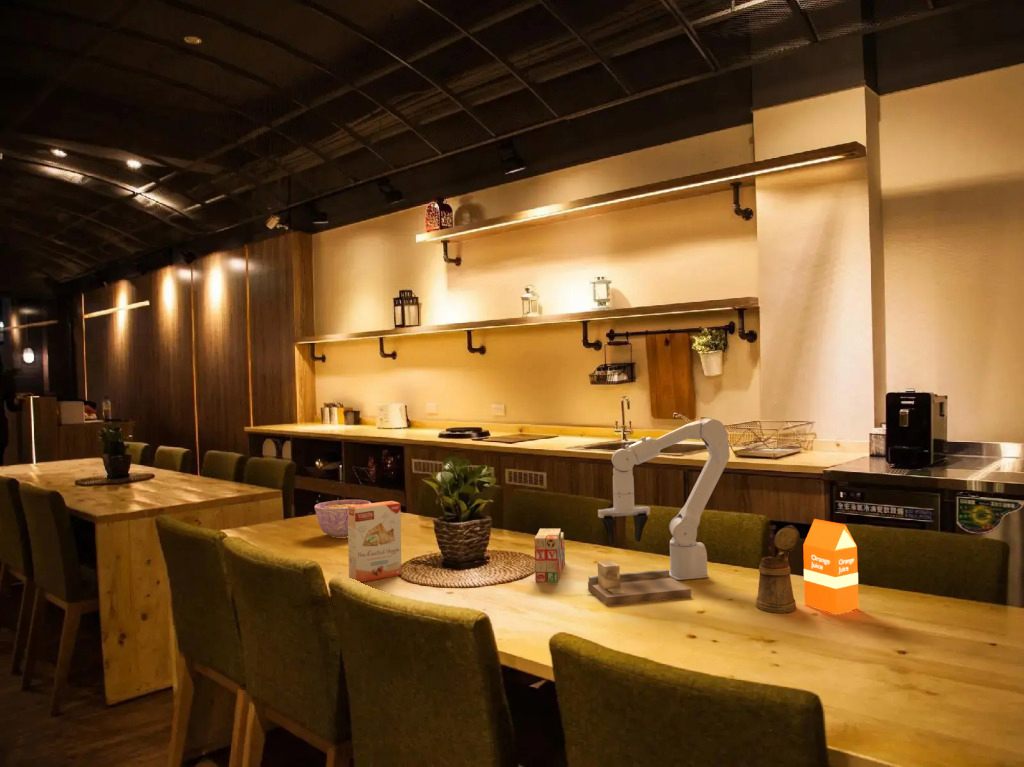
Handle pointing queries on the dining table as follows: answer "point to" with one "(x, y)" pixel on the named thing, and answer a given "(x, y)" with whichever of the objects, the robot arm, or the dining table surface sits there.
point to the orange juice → (830, 568)
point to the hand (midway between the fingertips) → (624, 541)
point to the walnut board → (640, 588)
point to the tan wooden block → (608, 574)
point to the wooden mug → (778, 575)
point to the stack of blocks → (549, 555)
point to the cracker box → (374, 540)
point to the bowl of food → (335, 516)
